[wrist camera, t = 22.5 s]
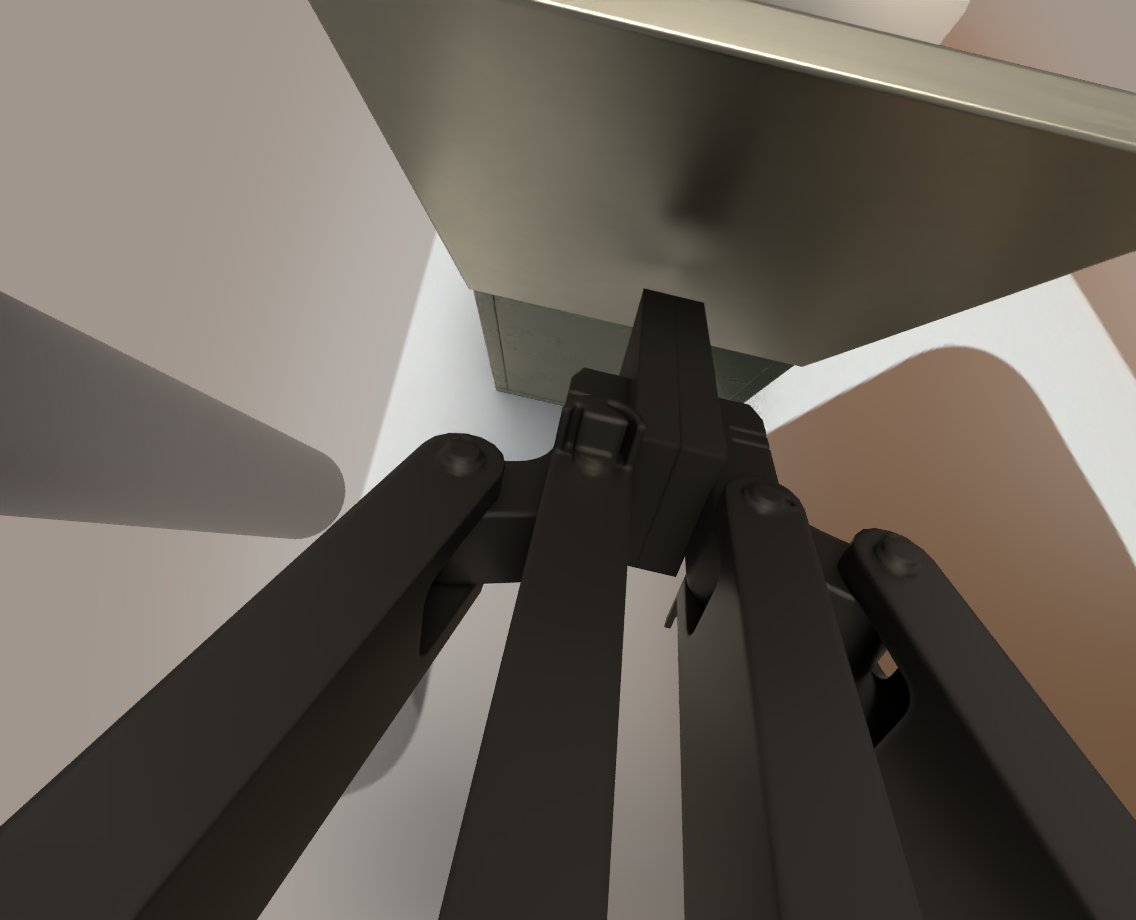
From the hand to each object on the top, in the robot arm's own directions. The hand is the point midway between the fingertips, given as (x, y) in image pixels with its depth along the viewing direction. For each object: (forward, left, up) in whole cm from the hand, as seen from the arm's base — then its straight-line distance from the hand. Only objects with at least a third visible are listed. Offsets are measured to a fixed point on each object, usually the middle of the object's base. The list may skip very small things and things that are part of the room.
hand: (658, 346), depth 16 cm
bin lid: (-2, +2, +1) cm, 3 cm away
